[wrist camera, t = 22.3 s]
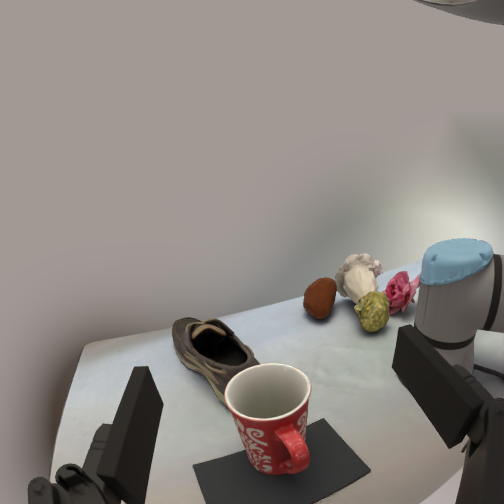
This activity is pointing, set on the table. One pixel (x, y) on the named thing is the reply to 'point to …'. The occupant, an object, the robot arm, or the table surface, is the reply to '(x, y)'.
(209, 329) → the boat shoe
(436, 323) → the robot arm
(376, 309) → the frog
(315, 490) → the mat
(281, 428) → the mug
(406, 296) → the flower
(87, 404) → the table surface
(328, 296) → the potato
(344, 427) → the table surface
